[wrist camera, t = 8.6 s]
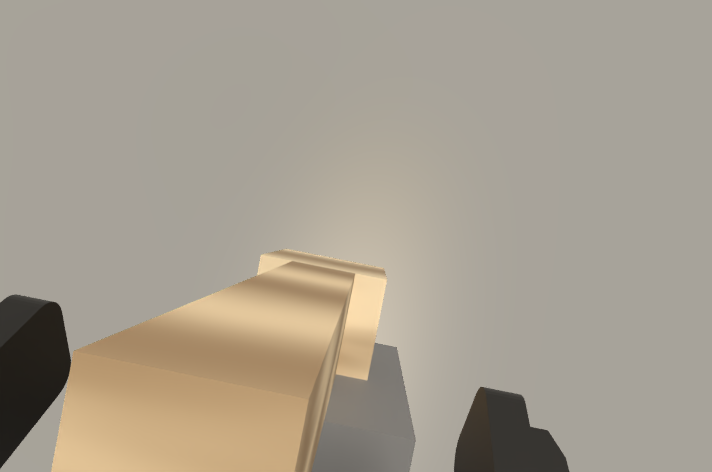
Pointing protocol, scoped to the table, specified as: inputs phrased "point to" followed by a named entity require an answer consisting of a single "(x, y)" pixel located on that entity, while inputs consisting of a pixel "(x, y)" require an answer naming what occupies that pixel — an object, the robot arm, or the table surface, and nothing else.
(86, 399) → the tan wooden bar piece
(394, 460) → the stand
